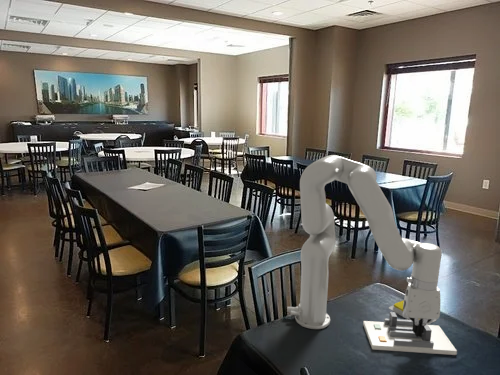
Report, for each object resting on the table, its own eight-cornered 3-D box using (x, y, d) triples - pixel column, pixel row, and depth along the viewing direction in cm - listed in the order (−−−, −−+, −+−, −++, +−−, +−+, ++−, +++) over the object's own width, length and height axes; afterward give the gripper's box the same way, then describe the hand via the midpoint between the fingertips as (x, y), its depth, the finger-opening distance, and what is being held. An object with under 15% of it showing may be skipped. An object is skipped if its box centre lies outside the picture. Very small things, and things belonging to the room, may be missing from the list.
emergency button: (422, 317, 130) (388, 298, 143) (421, 328, 131) (387, 309, 144) (438, 310, 135) (403, 293, 148) (437, 321, 136) (402, 303, 149)
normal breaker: (391, 329, 126) (392, 316, 125) (388, 324, 129) (389, 311, 128) (395, 330, 126) (397, 316, 125) (393, 325, 129) (394, 312, 128)
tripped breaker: (424, 344, 119) (426, 330, 118) (421, 338, 122) (423, 324, 121) (429, 344, 119) (431, 330, 118) (426, 338, 122) (428, 325, 121)
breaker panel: (372, 349, 119) (372, 340, 118) (363, 324, 132) (363, 316, 132) (456, 355, 116) (457, 345, 116) (438, 329, 130) (439, 320, 129)
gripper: (403, 286, 113) (397, 339, 117) (454, 289, 112) (446, 343, 116) (396, 275, 120) (390, 326, 124) (443, 278, 119) (436, 329, 123)
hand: (417, 334), depth 120 cm, fingers closed
